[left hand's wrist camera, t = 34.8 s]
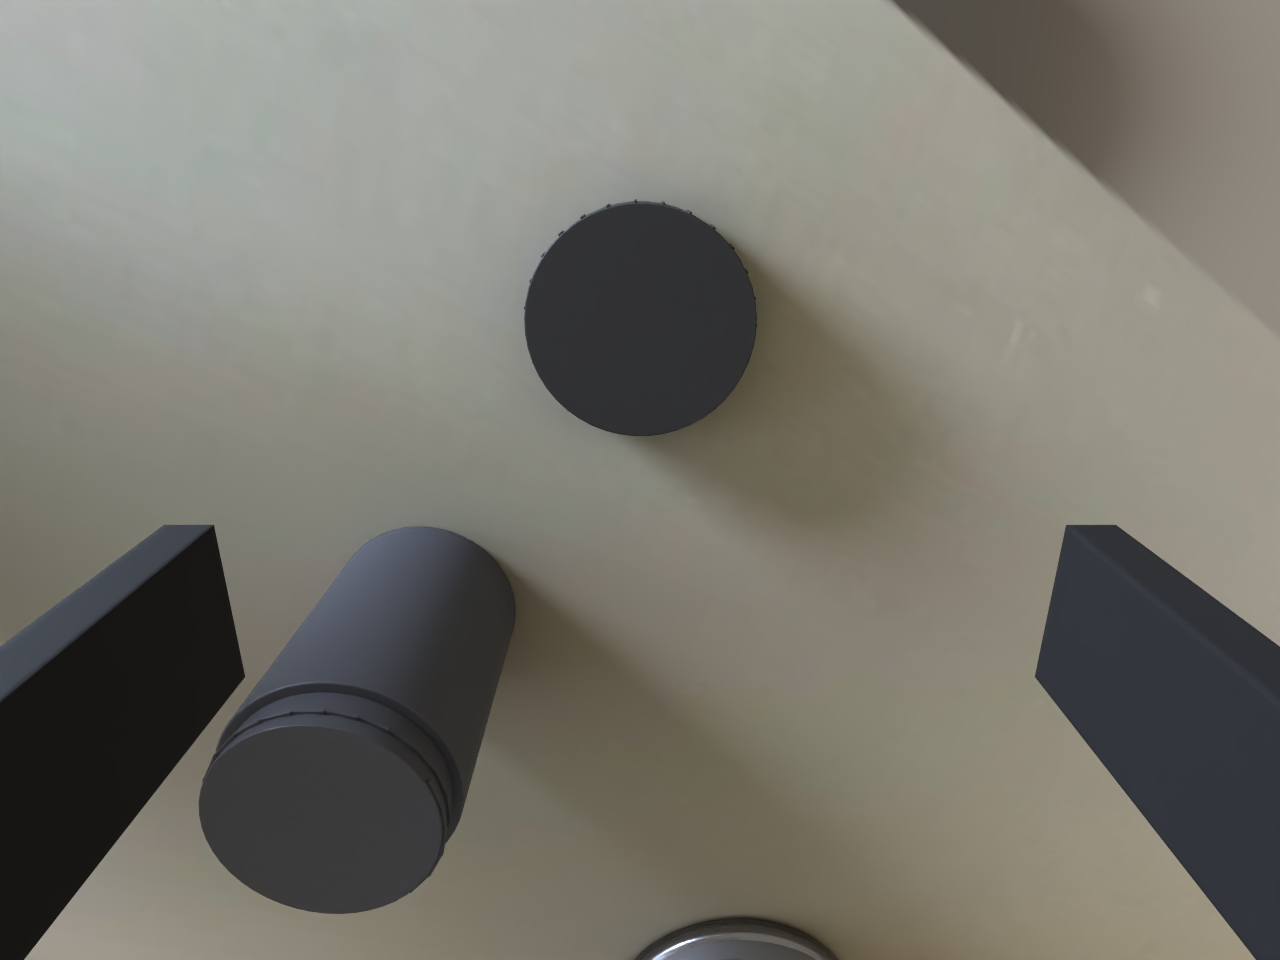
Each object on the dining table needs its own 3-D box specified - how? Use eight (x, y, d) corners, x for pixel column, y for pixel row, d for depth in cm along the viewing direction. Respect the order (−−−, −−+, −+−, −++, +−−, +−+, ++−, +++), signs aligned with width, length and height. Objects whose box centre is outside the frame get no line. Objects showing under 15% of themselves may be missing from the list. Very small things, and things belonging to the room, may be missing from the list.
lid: (575, 451, 39) (571, 466, 37) (493, 245, 36) (485, 250, 34) (777, 385, 38) (785, 396, 36) (713, 165, 34) (718, 165, 32)
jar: (381, 697, 44) (259, 944, 30) (310, 553, 41) (137, 752, 27) (539, 656, 43) (491, 891, 29) (479, 505, 40) (392, 686, 26)
